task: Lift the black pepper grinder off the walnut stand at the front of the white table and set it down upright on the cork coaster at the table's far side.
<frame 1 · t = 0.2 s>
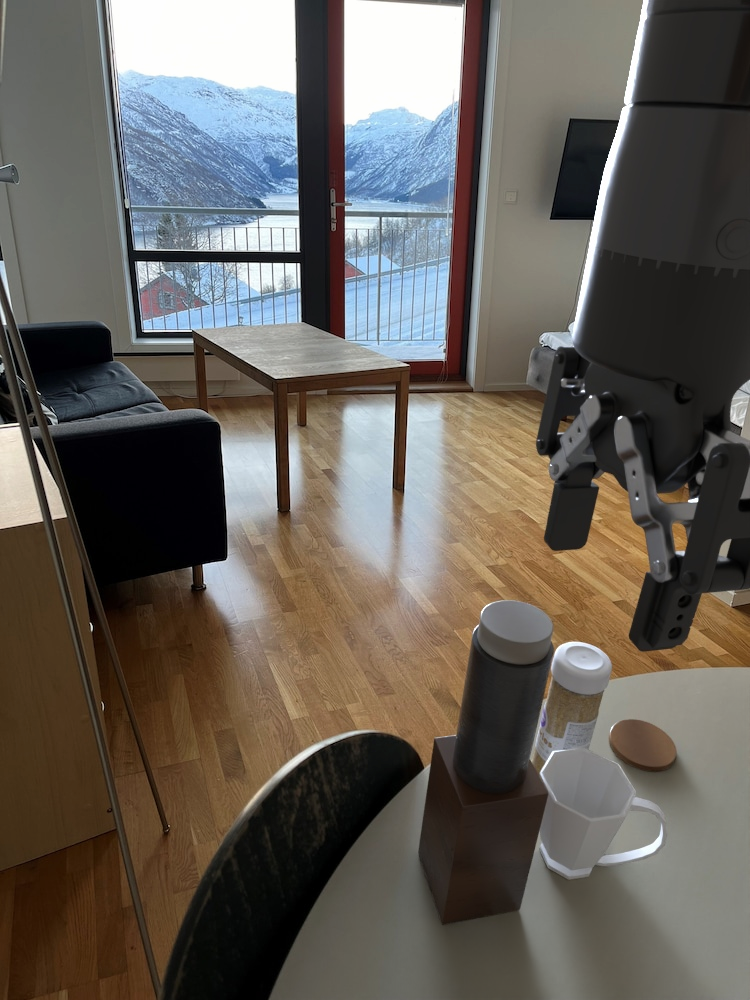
hand: (603, 590, 36), 31 cm above the table, tool pointing down, fingers open, 8 cm apart
walnut stand: (467, 880, 55), on the table
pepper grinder: (489, 764, 50), point 12 cm above the table, touching walnut stand
coaster: (641, 746, 69), on the table
cup: (586, 860, 58), on the table
sprinkles bottle: (553, 779, 65), on the table
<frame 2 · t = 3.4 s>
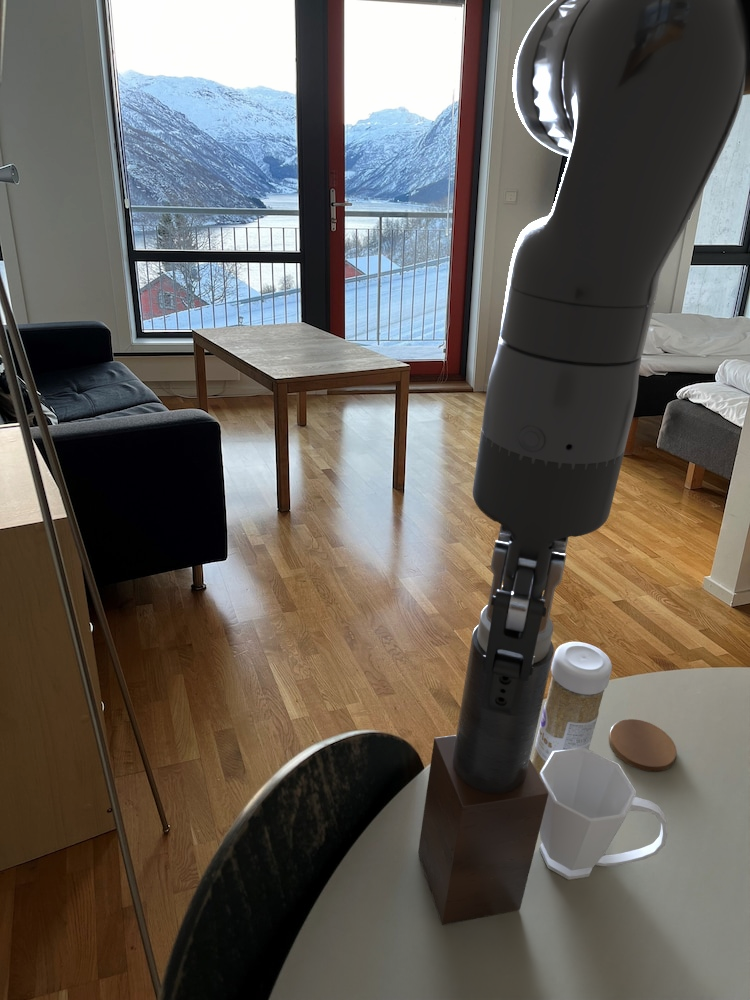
hand: (505, 678, 47), 20 cm above the table, tool pointing down, fingers closed on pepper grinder, 5 cm apart
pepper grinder: (489, 764, 50), point 12 cm above the table, touching gripper, walnut stand
everything else where it was.
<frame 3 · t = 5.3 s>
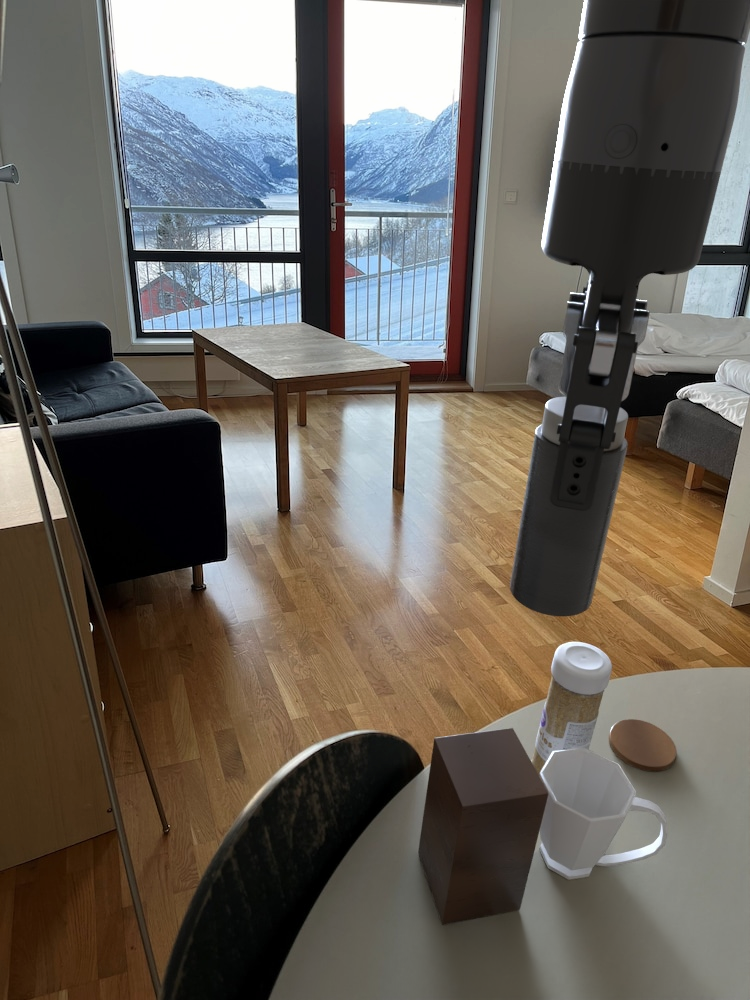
hand: (572, 483, 42), 33 cm above the table, tool pointing down, fingers closed on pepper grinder, 5 cm apart
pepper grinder: (550, 592, 45), point 25 cm above the table, touching gripper
everything else where it was.
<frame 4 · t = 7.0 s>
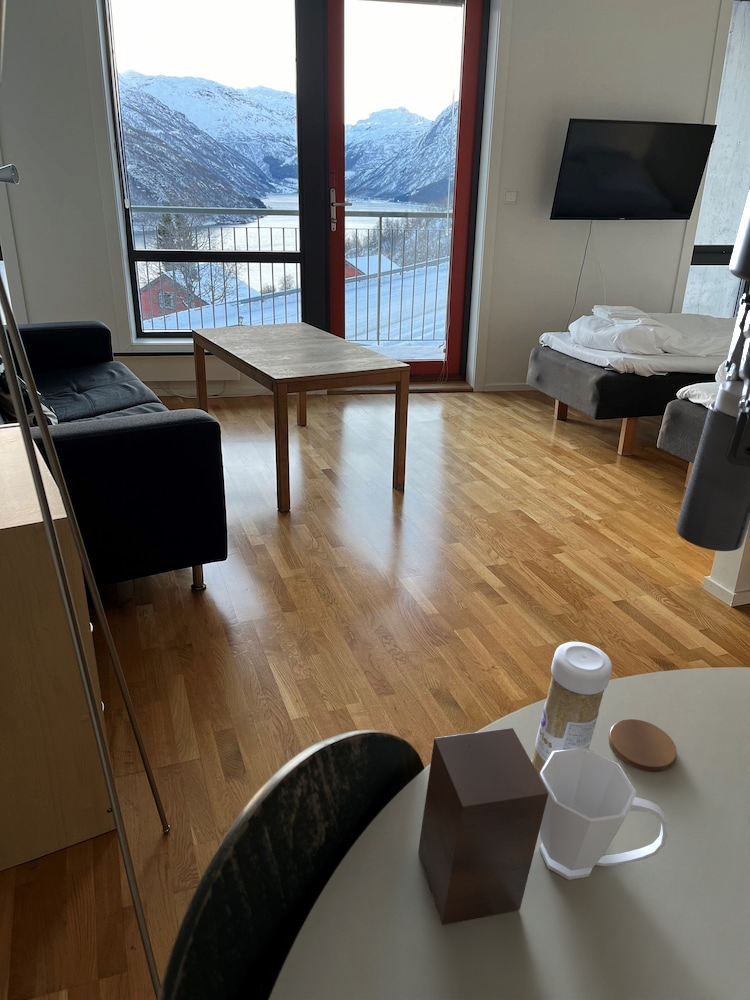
hand: (735, 448, 55), 30 cm above the table, tool pointing down, fingers closed on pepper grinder, 5 cm apart
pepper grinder: (708, 535, 58), point 23 cm above the table, touching gripper
everything else where it was.
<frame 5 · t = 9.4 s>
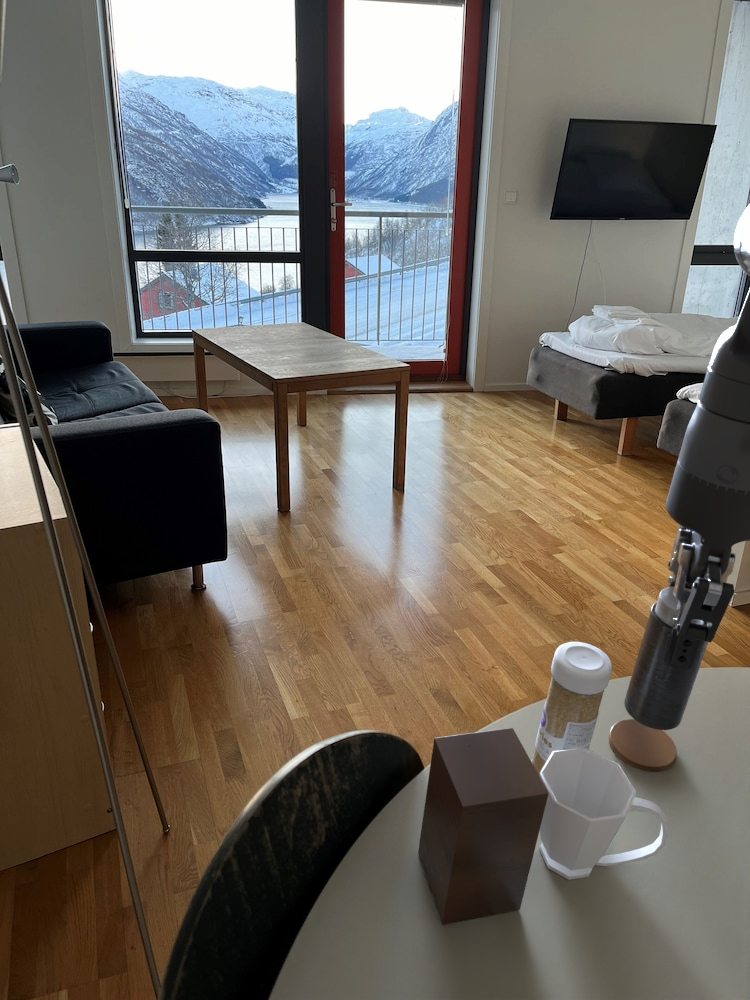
hand: (674, 644, 63), 12 cm above the table, tool pointing down, fingers closed on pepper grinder, 5 cm apart
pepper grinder: (652, 710, 67), point 5 cm above the table, touching gripper
everything else where it was.
when the fingers open (8 cm above the table, at t = 11.0 s): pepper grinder stays where it is, resting on coaster.
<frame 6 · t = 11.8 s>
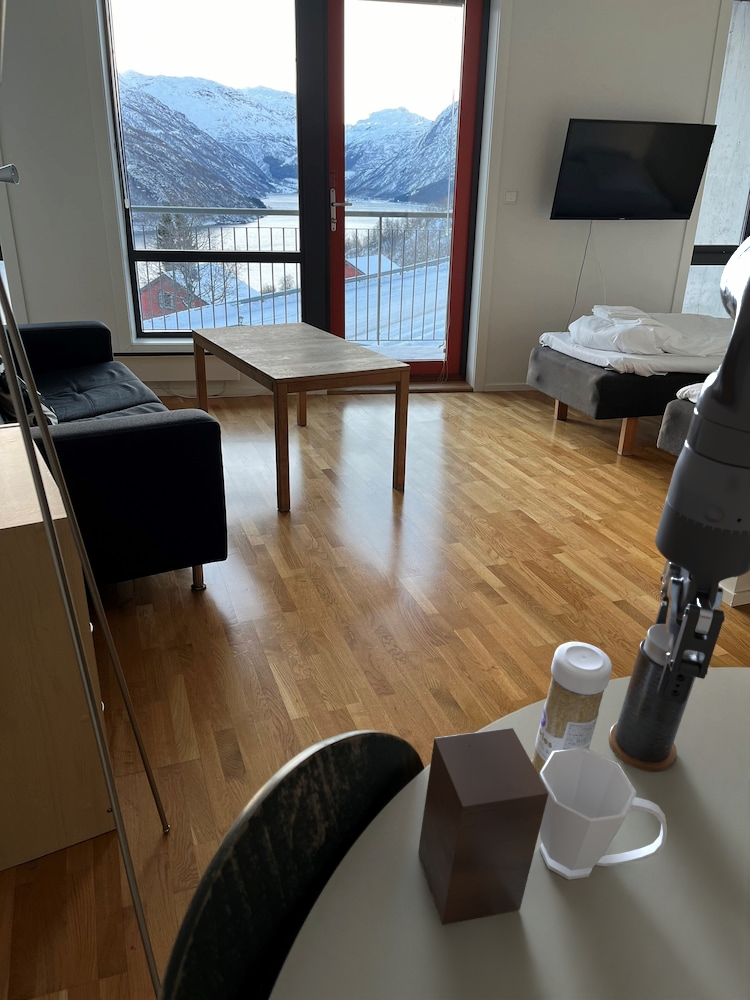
hand: (666, 667, 65), 9 cm above the table, tool pointing down, fingers open, 8 cm apart
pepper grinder: (642, 742, 69), point 1 cm above the table, touching coaster
everything else where it was.
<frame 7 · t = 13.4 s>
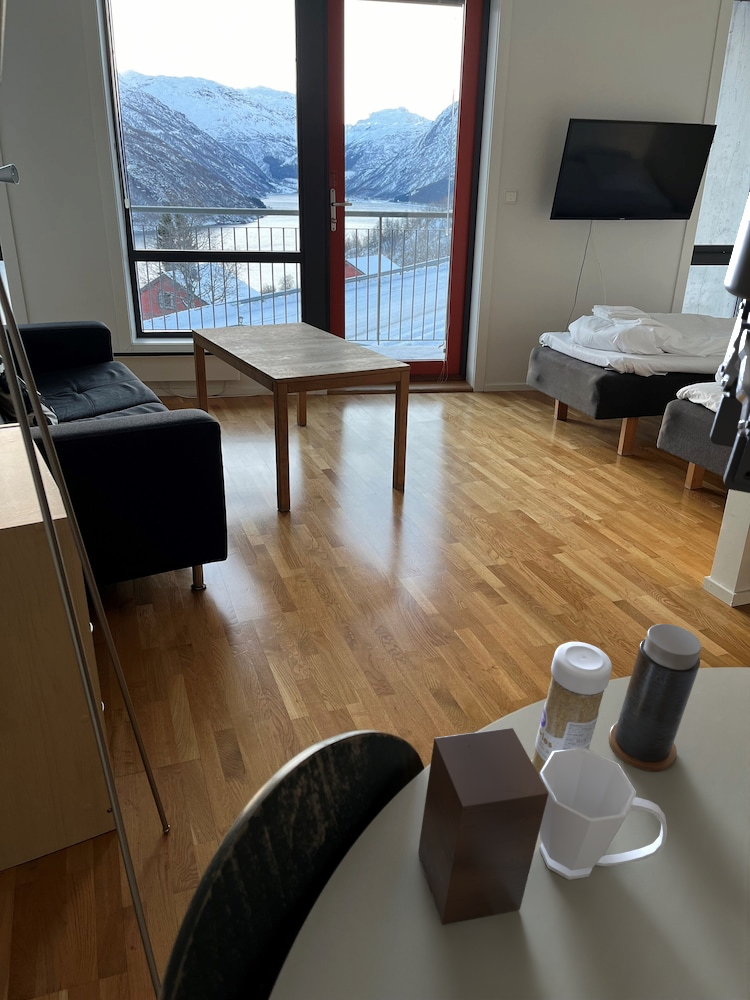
hand: (731, 465, 52), 31 cm above the table, tool pointing down, fingers open, 8 cm apart
nothing on the table moved.
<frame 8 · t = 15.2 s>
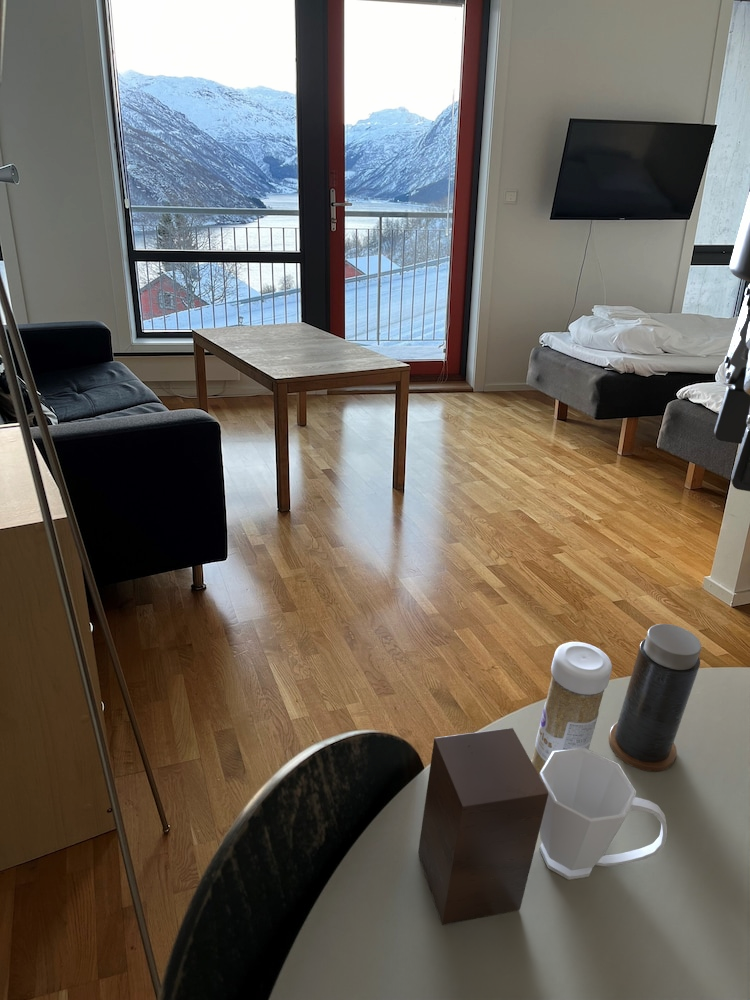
hand: (738, 462, 48), 32 cm above the table, tool pointing down, fingers open, 8 cm apart
nothing on the table moved.
at the end: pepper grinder 0.1 cm off-centre on the coaster, point 0.6 cm above the coaster's base; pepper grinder tilted 0°; the gripper is holding nothing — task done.
